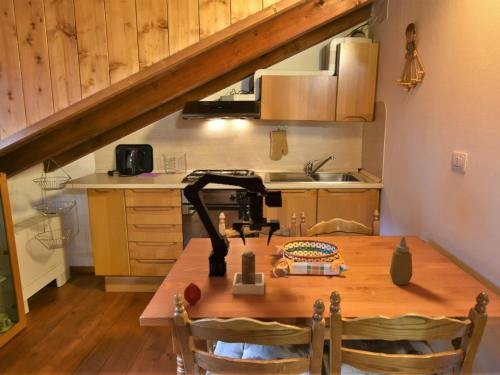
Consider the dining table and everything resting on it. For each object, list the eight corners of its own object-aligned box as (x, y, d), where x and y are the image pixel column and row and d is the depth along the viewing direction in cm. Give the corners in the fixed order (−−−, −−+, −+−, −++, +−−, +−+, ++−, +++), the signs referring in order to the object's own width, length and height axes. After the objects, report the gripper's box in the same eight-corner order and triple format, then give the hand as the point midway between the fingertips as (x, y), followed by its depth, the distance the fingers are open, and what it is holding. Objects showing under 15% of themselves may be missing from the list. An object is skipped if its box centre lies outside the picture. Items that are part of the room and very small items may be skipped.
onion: (185, 300, 129) (184, 279, 127) (201, 299, 129) (201, 278, 128) (183, 309, 123) (182, 286, 121) (201, 308, 123) (200, 285, 122)
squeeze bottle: (411, 279, 144) (414, 234, 141) (412, 288, 136) (416, 241, 133) (388, 276, 146) (391, 233, 143) (389, 285, 139) (392, 239, 136)
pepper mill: (241, 288, 136) (241, 255, 134) (242, 283, 141) (241, 250, 138) (255, 289, 136) (254, 255, 133) (255, 283, 140) (255, 250, 138)
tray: (232, 294, 133) (232, 285, 132) (235, 281, 144) (235, 272, 143) (263, 294, 132) (263, 285, 132) (264, 281, 143) (264, 272, 143)
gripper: (230, 212, 138) (231, 252, 141) (280, 212, 137) (280, 252, 140) (233, 205, 149) (233, 243, 152) (279, 205, 148) (279, 243, 151)
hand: (256, 245), depth 148 cm, fingers open, 9 cm apart
